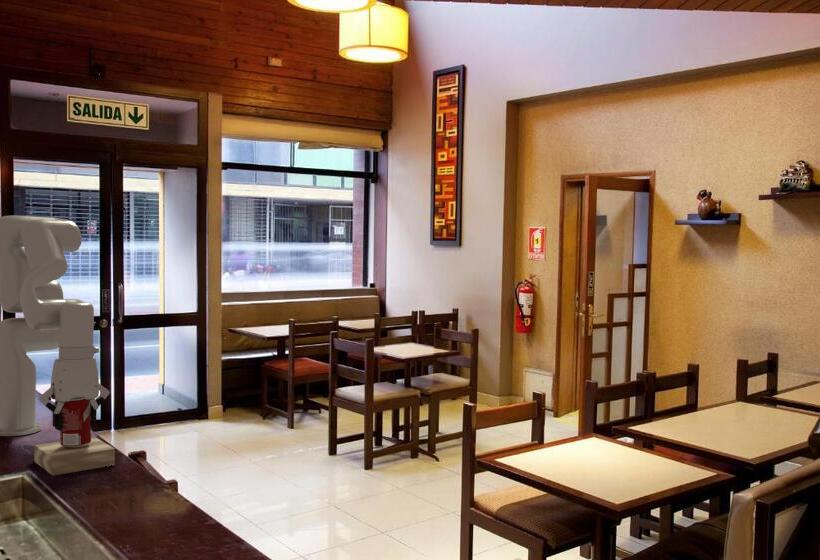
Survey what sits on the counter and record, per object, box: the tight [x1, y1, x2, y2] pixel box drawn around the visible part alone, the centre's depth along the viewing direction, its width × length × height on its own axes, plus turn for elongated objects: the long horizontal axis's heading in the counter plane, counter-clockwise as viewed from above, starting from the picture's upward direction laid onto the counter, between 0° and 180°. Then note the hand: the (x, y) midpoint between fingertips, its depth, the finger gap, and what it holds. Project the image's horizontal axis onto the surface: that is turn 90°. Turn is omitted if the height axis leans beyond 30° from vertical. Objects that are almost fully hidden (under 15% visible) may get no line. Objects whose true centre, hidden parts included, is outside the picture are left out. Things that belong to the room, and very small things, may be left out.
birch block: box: [33, 436, 116, 476], centre depth 177 cm, size 14×14×4 cm
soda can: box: [59, 397, 92, 449], centre depth 177 cm, size 7×7×12 cm
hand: (74, 426), depth 177 cm, fingers open, 6 cm apart
